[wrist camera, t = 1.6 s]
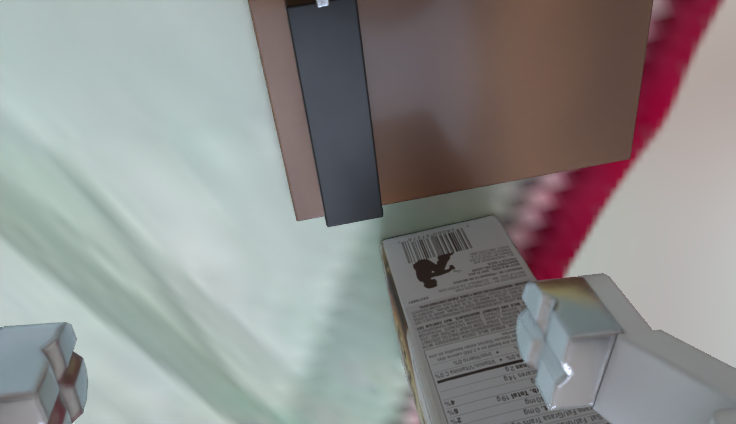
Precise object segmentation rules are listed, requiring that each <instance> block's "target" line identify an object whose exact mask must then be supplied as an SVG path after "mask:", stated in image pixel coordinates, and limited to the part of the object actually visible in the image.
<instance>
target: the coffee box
mask: <svg viewBox="0 0 736 424" xmlns="http://www.w3.org/2000/svg"><path fill="white" fill-rule="evenodd" d="M380 251H381V257H382V262H383V267H384V272H385V277H386V282H387V287H388V292H389V297H390V302H391V307H392V312H393V317H394V322H395V327H396V332H397V337H398V342H399V347H400V352H401V358H402V363H403V366H404V370H405V373H406V377H407V380H408V383H409V387H410V390H411V393H412V397H413V400H414V404H415V407H416V411H417V414H418V418H419V421H420V424H611V423H610V422H609V421H607V420H606V419H605V418H604V417H602V416H601V415H600V414H599V413H597V412H596V411H595V410H594V409H593V407H585V408H575V409H564V410H554V411H549V409H548V407H547V405H546V403H545V402H544V400H543V398H542V396H541V394H540V392H539V390H538V388H537V386H536V384H535V379H536V375H537V372H536V371H535V370H533V369H532V368H530V367H529V366H527V365H526V364H525V363H524V361H523V358H522V356H521V354H520V351H519V348H518V345H517V337H516V325H517V319H518V315H519V314H520V313H521V312H522V311H523V310H524V309H525V308H526V307H527V306H526V304H525V303H524V301H523V299H522V295H523V291H524V287H525V286H526V284H527V282H528V281H537V279H536V278H535V277H534V275H533V273H532V272H531V270H530V268H529V267H528V265H527V264H526V262H525V261H524V259H523V258H522V256H521V255H520V253H519V251H518V249H517V248H516V246H515V245H514V243H513V241H512V240H511V239H510V237H509V235H508V234H507V232H506V231H505V229H504V228H503V226H502V224H501V223H500V221H499V220H498V218H497V217H496V216H493V215H492V216H487V217H483V218H479V219H474V220H470V221H466V222H461V223H457V224H452V225H448V226H443V227H439V228H434V229H430V230H426V231H421V232H417V233H413V234H408V235H404V236H400V237H395V238H391V239H386V240H383V241H382V242H381V243H380Z"/></svg>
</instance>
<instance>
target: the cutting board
mask: <svg viewBox="0 0 736 424" xmlns="http://www.w3.org/2000/svg"><path fill="white" fill-rule="evenodd" d="M248 3H249V8H250V12H251V17H252V21H253V26H254V30H255V35H256V39H257V44H258V48H259V53H260V58H261V62H262V67H263V71H264V76H265V80H266V85H267V89H268V94H269V98H270V103H271V107H272V112H273V116H274V121H275V125H276V130H277V134H278V139H279V143H280V148H281V152H282V157H283V162H284V166H285V171H286V175H287V180H288V184H289V189H290V193H291V198H292V202H293V207H294V211H295V216H296V220H297V221H301V220H307V219H312V218H317V217H323V216H325V214H324V209H323V204H322V198H321V193H320V188H319V183H318V177H317V172H316V167H315V161H314V156H313V151H312V145H311V140H310V135H309V129H308V124H307V119H306V113H305V108H304V103H303V98H302V92H301V87H300V82H299V76H298V71H297V66H296V60H295V55H294V50H293V44H292V39H291V34H290V29H289V23H288V18H287V13H286V7H285V2H284V0H248ZM357 3H358V12H359V20H360V28H361V36H362V44H363V52H364V61H365V69H366V77H367V85H368V93H369V102H370V110H371V118H372V126H373V134H374V142H375V151H376V159H377V167H378V175H379V183H380V191H381V200H382V205H387V204H392V203H397V202H403V201H408V200H413V199H419V198H424V197H429V196H435V195H440V194H445V193H451V192H456V191H461V190H467V189H472V188H477V187H483V186H488V185H493V184H499V183H504V182H509V181H515V180H520V179H525V178H531V177H536V176H541V175H547V174H552V173H557V172H563V171H568V170H573V169H579V168H584V167H589V166H595V165H600V164H606V163H611V162H616V161H622V160H627V159H630V157H631V150H632V143H633V136H634V129H635V122H636V115H637V108H638V102H639V95H640V88H641V81H642V74H643V67H644V60H645V53H646V47H647V40H648V33H649V26H650V19H651V12H652V5H653V0H357Z"/></svg>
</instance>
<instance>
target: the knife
mask: <svg viewBox="0 0 736 424" xmlns="http://www.w3.org/2000/svg"><path fill="white" fill-rule="evenodd" d="M284 2H285V7H286V13H287V18H288V23H289V29H290V34H291V39H292V44H293V50H294V55H295V60H296V66H297V71H298V76H299V82H300V87H301V92H302V98H303V103H304V108H305V113H306V119H307V124H308V129H309V135H310V140H311V145H312V151H313V156H314V161H315V167H316V172H317V177H318V183H319V188H320V193H321V198H322V204H323V209H324V214H325V220H326V225H327V227H331V226H337V225H342V224H347V223H353V222H358V221H363V220H368V219H374V218H379V217H383V208H382V200H381V191H380V183H379V175H378V167H377V159H376V151H375V142H374V134H373V126H372V118H371V110H370V102H369V93H368V85H367V77H366V69H365V61H364V52H363V44H362V36H361V28H360V20H359V12H358V3H357V0H284Z"/></svg>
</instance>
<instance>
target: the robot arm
mask: <svg viewBox="0 0 736 424" xmlns="http://www.w3.org/2000/svg"><path fill="white" fill-rule="evenodd" d="M522 299H523V301H524V303H525V304H526V306H527V307H526V308H525V309H524V310H523V311H522V312H521V313H520V314H519V315H518V319H517V325H516V337H517V345H518V348H519V351H520V354H521V356H522V358H523V361H524V363H525V364H526V365H527V366H529V367H530V368H532V369H533V370H535V371H536V372H537V375H536V379H535V384H536V386H537V388H538V390H539V392H540V394H541V396H542V398H543V400H544V402H545V403H546V405H547V407H548V409H549V411H554V410H564V409H575V408H585V407H593V409H594V410H595V411H596V412H597V413H599V414H600V415H601V416H602V417H604V418H605V419H606V420H607V421H609V422H610V423H611V424H736V368H734V367H732V366H730V365H728V364H726V363H724V362H722V361H720V360H718V359H716V358H714V357H712V356H710V355H709V354H707V353H705V352H702V351H701V350H699V349H697V348H695V347H693V346H691V345H689V344H687V343H685V342H683V341H681V340H679V339H677V338H675V337H674V336H672V335H670V334H668V333H666V332H664V331H662V330H652V329H651V327H650V326H649V325H648V324H647V322H646V321H645V320H644V319H643V318H642V317H641V315H640V314H639V313H638V311H637V310H636V309H635V308H634V306H633V305H632V304H631V303H630V302H629V300H628V299H627V298H626V297H625V295H624V294H623V293H622V292H621V290H620V289H619V288H618V287H617V285H616V284H615V283H614V282H613V281H612V279H611V278H610V277H609V276H607V275H605V274H603V273H602V274H593V275H584V276H578V277H569V278H558V279H548V280H537V281H528V282H527V284H526V286H525V287H524V291H523V295H522ZM76 340H77V338H76V335H75V333H74V330H73V327H72V325H71V324H69V323H67V322H62V323H47V324H32V325H17V326H4V327H0V424H72V423H73V422H74V421H75V420H76V419H77V418H78V417H79V416H80V415H81V414H82V413H83V411H84V407H85V403H86V400H87V389H88V377H87V370H86V366H85V363H84V359H83V358H82V357H81V356H79V355H78V354H76V353H75V352H73V349H74V346H75V343H76Z"/></svg>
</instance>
